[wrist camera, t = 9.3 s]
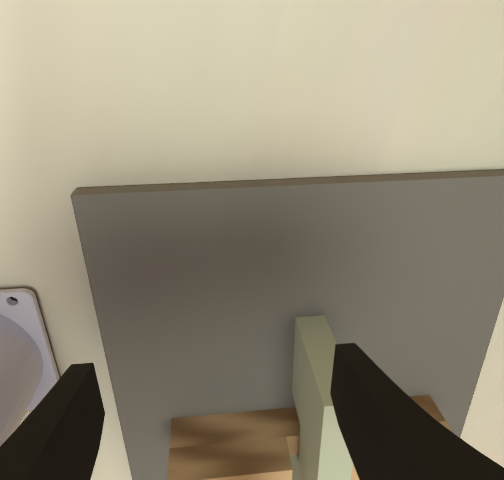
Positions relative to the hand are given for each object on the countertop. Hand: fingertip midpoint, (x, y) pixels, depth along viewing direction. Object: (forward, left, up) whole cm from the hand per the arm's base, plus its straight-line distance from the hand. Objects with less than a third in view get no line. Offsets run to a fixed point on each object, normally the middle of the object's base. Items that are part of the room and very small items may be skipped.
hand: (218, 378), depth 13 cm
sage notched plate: (+5, -11, -8) cm, 15 cm away
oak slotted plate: (+5, -12, -8) cm, 15 cm away
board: (+5, -8, -9) cm, 14 cm away
